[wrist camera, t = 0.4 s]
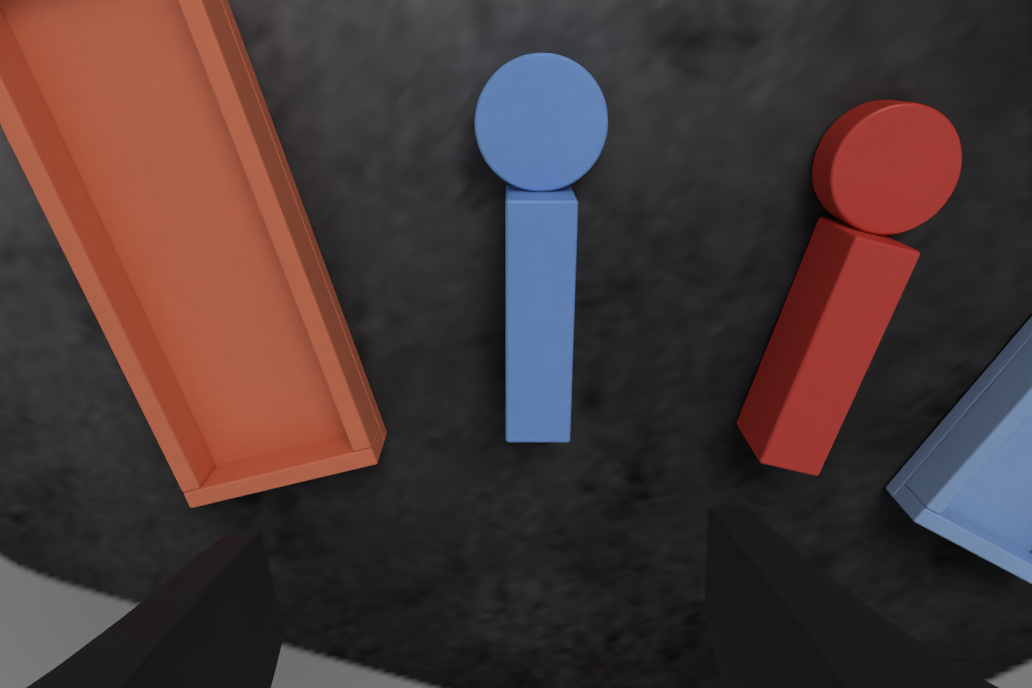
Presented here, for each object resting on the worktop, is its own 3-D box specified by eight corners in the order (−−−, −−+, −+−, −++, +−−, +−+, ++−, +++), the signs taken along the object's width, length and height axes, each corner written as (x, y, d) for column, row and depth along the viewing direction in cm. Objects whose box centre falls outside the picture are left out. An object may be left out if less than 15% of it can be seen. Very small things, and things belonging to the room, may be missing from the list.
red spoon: (811, 441, 21) (844, 483, 19) (711, 417, 21) (732, 458, 19) (957, 117, 18) (1015, 126, 16) (840, 84, 17) (884, 89, 15)
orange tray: (387, 433, 21) (377, 464, 19) (213, 475, 21) (190, 509, 20) (189, -107, 16) (154, -124, 14) (-30, -38, 16) (-87, -47, 15)
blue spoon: (589, 404, 20) (598, 443, 18) (480, 404, 20) (477, 443, 18) (605, 52, 17) (618, 52, 15) (475, 52, 17) (470, 52, 15)
